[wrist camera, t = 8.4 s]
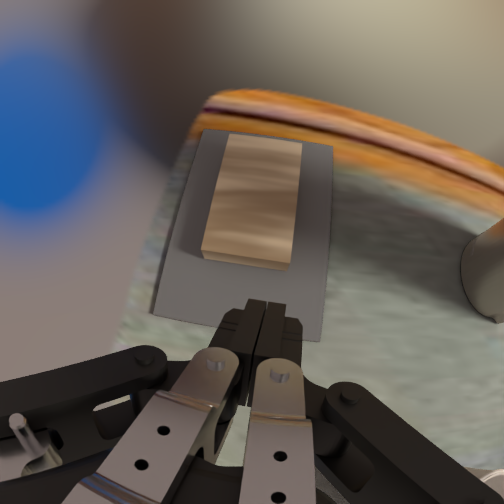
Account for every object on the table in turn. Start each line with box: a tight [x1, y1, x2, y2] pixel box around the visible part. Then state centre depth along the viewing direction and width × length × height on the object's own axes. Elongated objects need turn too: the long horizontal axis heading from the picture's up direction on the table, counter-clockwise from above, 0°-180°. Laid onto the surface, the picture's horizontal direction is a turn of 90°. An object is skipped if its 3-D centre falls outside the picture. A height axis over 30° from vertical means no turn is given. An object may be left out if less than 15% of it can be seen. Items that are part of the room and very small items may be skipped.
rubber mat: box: [153, 129, 333, 342], centre depth 28 cm, size 20×14×1 cm
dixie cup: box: [464, 467, 504, 499], centre depth 15 cm, size 8×8×10 cm
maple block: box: [201, 134, 302, 271], centre depth 27 cm, size 2×7×12 cm
